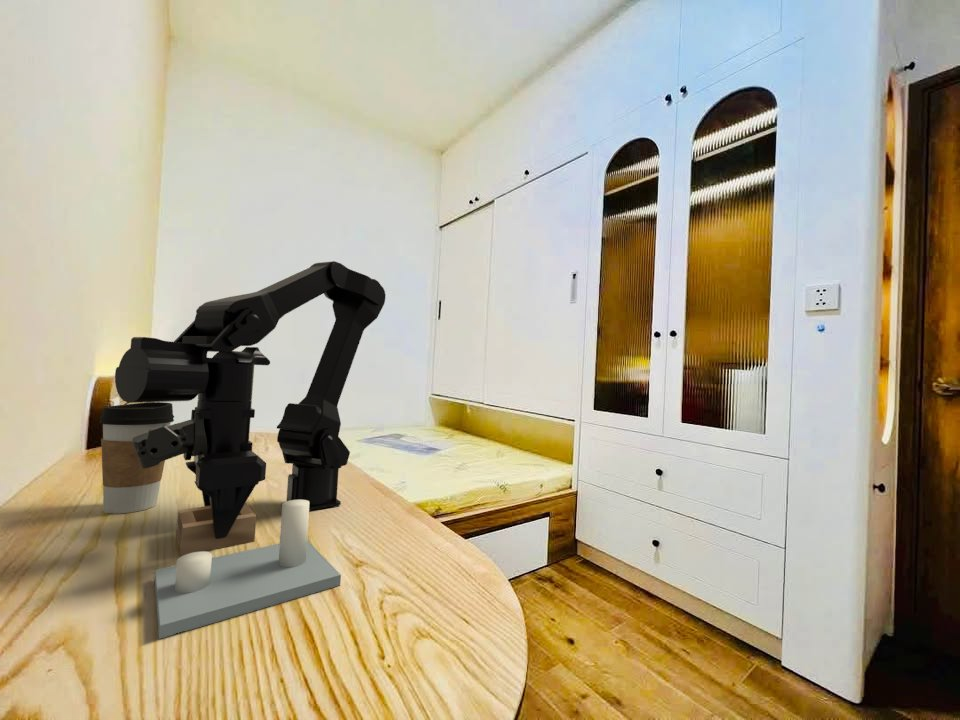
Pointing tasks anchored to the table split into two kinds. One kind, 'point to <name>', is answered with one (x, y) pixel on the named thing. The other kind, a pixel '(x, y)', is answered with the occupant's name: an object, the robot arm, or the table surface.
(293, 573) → the post board
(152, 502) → the coffee cup
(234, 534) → the walnut ring
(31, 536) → the table surface
